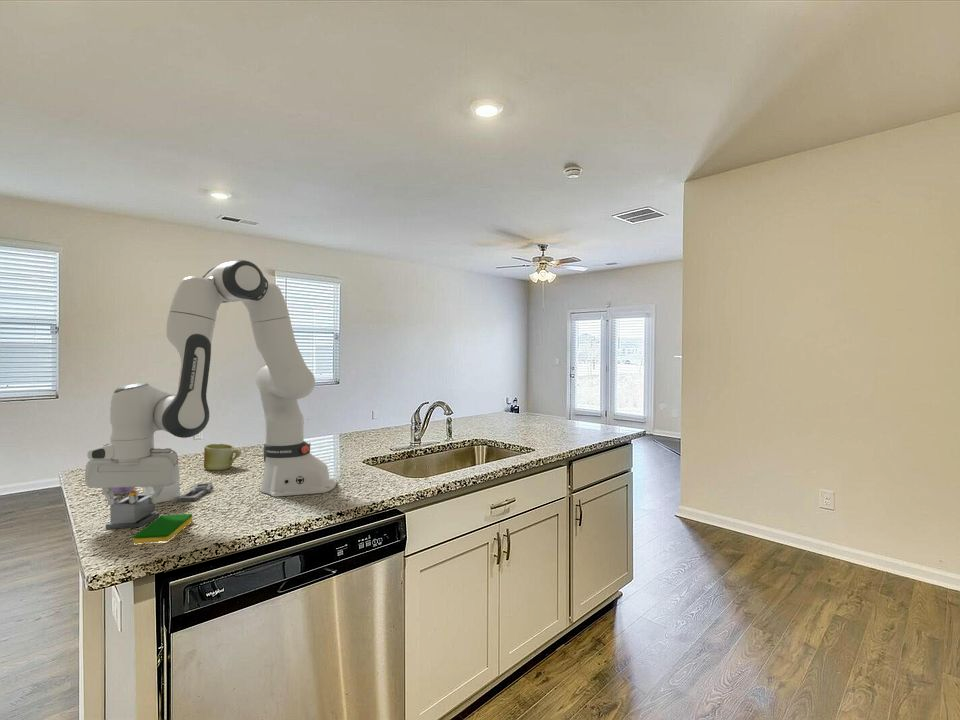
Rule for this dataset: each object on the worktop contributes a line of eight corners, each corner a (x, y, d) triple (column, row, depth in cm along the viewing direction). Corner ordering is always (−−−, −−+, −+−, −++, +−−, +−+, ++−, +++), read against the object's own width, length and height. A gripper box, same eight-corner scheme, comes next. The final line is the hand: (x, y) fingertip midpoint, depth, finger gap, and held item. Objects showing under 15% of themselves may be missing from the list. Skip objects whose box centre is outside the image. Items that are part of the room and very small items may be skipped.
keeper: (159, 516, 125) (159, 485, 125) (141, 527, 117) (141, 495, 117) (126, 517, 124) (125, 486, 124) (105, 528, 117) (105, 496, 116)
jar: (136, 501, 137) (135, 459, 137) (162, 493, 145) (162, 453, 144) (160, 504, 134) (159, 461, 134) (186, 496, 142) (185, 455, 142)
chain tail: (220, 485, 153) (220, 479, 153) (197, 500, 138) (197, 494, 138) (196, 485, 152) (196, 479, 152) (171, 501, 137) (171, 494, 137)
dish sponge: (192, 522, 122) (192, 513, 122) (168, 545, 109) (167, 534, 108) (161, 524, 121) (161, 514, 121) (132, 547, 107) (132, 536, 107)
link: (155, 510, 126) (155, 493, 126) (134, 523, 117) (134, 505, 117) (132, 511, 125) (132, 494, 125) (110, 523, 116) (110, 505, 116)
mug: (191, 466, 169) (202, 438, 172) (210, 468, 179) (221, 442, 182) (220, 475, 167) (231, 446, 169) (238, 476, 176) (249, 450, 179)
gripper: (183, 445, 125) (183, 498, 125) (97, 446, 122) (98, 501, 123) (170, 450, 119) (171, 506, 119) (79, 452, 116) (80, 509, 117)
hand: (133, 503), depth 121 cm, fingers open, 8 cm apart
